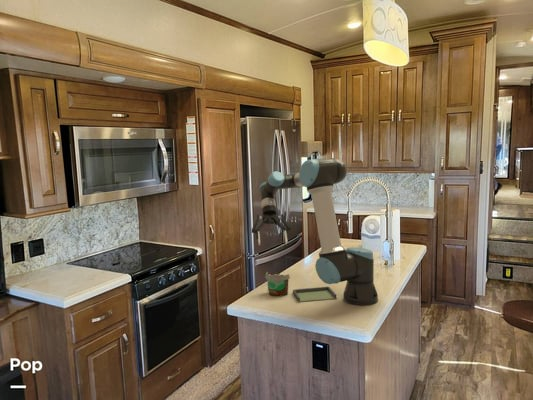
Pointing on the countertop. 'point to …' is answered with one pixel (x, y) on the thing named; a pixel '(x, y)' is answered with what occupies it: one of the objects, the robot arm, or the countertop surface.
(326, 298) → the green tray
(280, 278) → the food container
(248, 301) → the countertop surface
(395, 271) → the countertop surface
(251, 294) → the countertop surface
